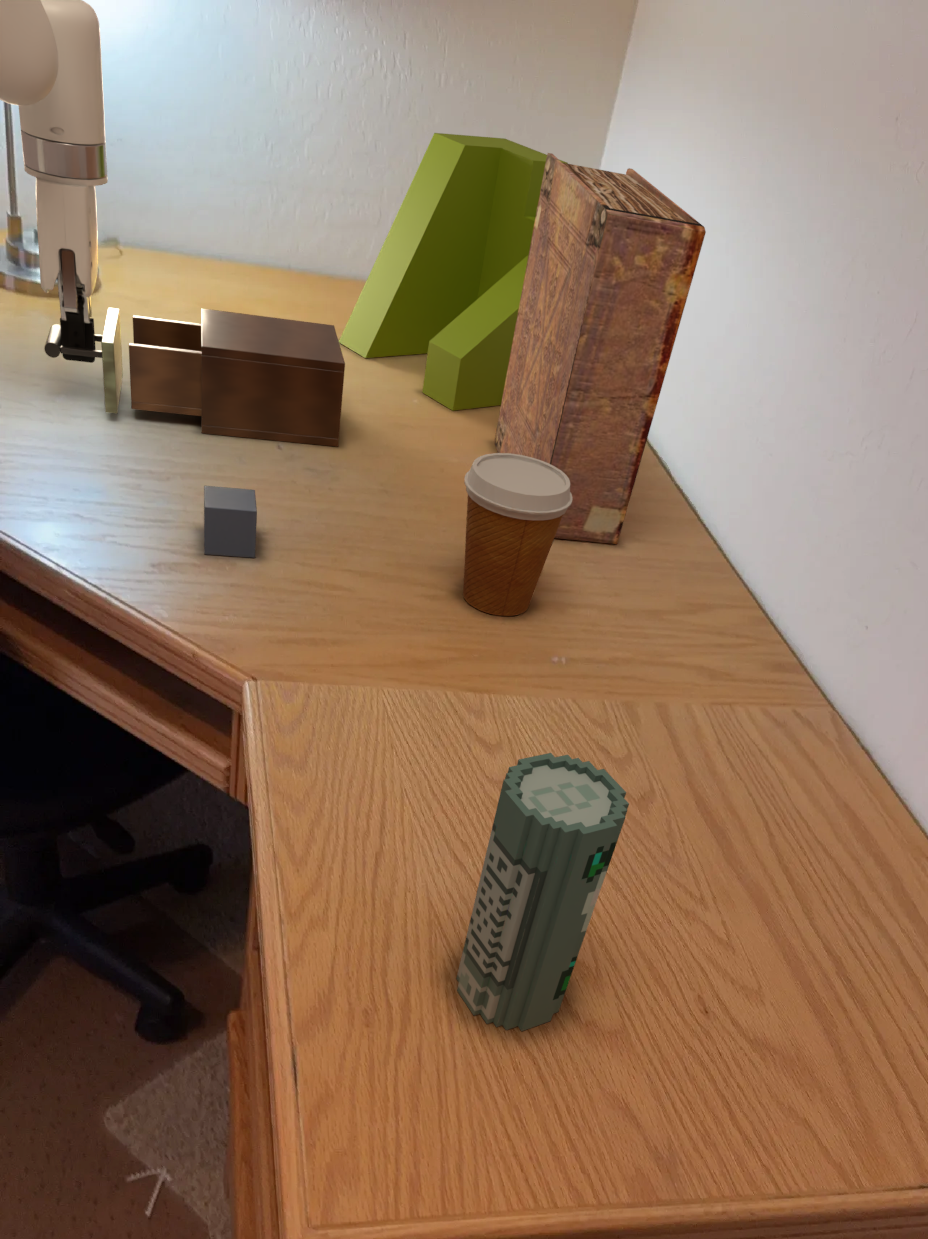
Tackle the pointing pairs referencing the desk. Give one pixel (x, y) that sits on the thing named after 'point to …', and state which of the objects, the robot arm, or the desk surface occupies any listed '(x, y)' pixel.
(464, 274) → the book holder
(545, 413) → the book
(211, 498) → the block
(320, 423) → the cabinet
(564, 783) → the can
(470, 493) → the disposable coffee cup
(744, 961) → the desk surface
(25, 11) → the robot arm
